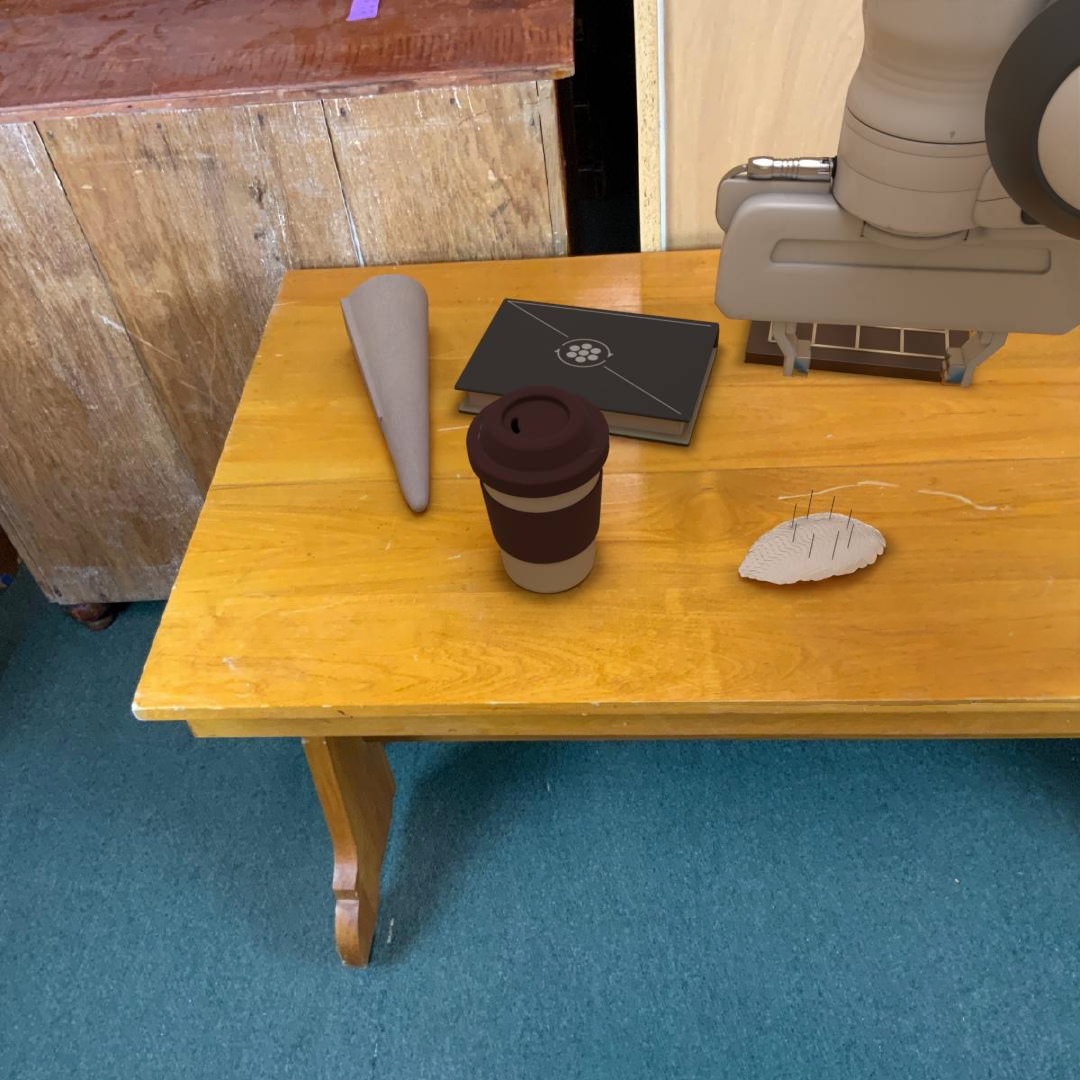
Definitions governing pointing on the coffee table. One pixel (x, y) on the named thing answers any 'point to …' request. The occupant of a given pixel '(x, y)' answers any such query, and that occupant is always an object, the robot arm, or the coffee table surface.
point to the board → (862, 348)
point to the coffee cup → (541, 482)
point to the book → (598, 364)
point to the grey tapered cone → (395, 371)
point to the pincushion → (812, 549)
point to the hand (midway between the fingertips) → (873, 375)
